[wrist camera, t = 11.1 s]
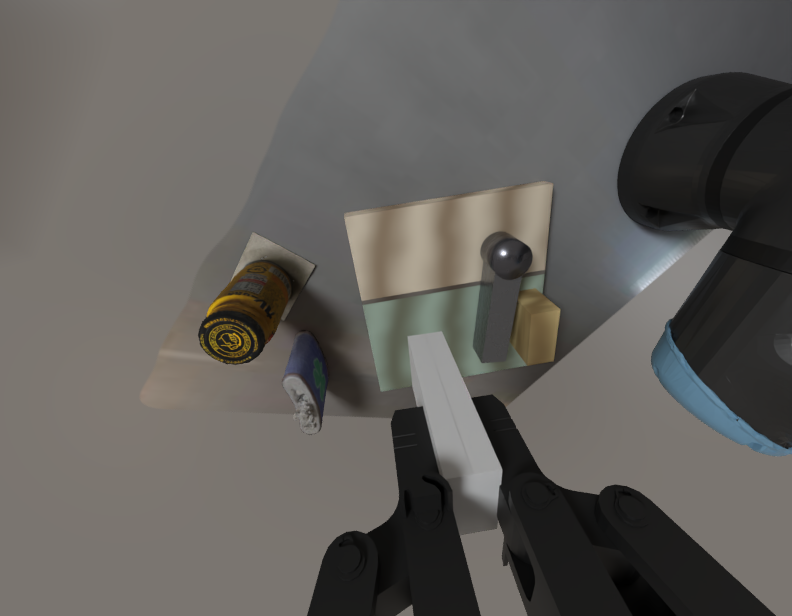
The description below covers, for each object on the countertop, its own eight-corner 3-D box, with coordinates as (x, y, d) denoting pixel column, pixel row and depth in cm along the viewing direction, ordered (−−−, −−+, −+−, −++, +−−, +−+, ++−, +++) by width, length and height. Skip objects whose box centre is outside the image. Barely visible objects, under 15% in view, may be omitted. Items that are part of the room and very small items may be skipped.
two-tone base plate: (543, 181, 35) (586, 191, 29) (529, 355, 47) (557, 391, 40) (344, 213, 35) (342, 231, 28) (379, 381, 46) (383, 422, 40)
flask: (292, 331, 41) (274, 390, 31) (315, 327, 41) (303, 384, 32) (312, 386, 45) (302, 451, 36) (333, 381, 45) (327, 446, 36)
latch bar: (482, 231, 35) (496, 242, 31) (518, 230, 35) (536, 241, 32) (468, 346, 42) (479, 366, 38) (498, 344, 42) (511, 363, 39)
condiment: (225, 293, 38) (174, 354, 27) (253, 231, 35) (208, 273, 24) (284, 319, 40) (259, 385, 29) (315, 264, 37) (299, 315, 27)
